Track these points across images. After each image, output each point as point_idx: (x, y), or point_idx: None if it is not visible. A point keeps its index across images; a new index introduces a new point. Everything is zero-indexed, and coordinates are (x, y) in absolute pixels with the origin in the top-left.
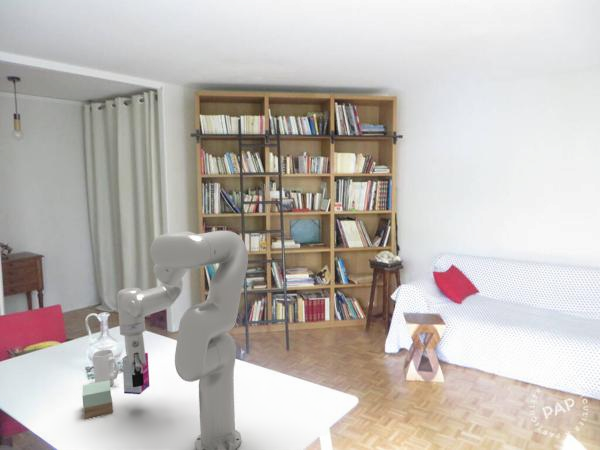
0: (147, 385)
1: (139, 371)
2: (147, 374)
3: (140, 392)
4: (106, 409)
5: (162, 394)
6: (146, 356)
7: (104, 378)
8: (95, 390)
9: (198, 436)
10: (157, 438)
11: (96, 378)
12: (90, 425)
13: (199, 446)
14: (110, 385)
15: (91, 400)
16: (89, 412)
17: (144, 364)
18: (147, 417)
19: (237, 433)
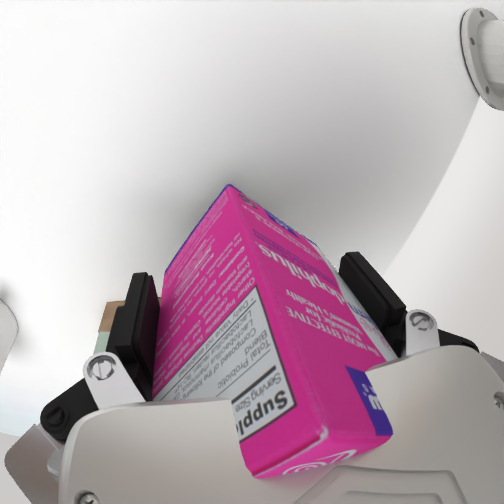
0: (253, 202)
1: (447, 344)
2: (265, 232)
3: (315, 245)
4: None
5: (105, 98)
6: (346, 394)
7: (2, 340)
8: None
9: (481, 85)
10: (425, 169)
11: (6, 358)
12: None
13: (501, 104)
14: (3, 304)
15: None
16: None
17: (351, 334)
18: (295, 176)
19: (492, 17)
